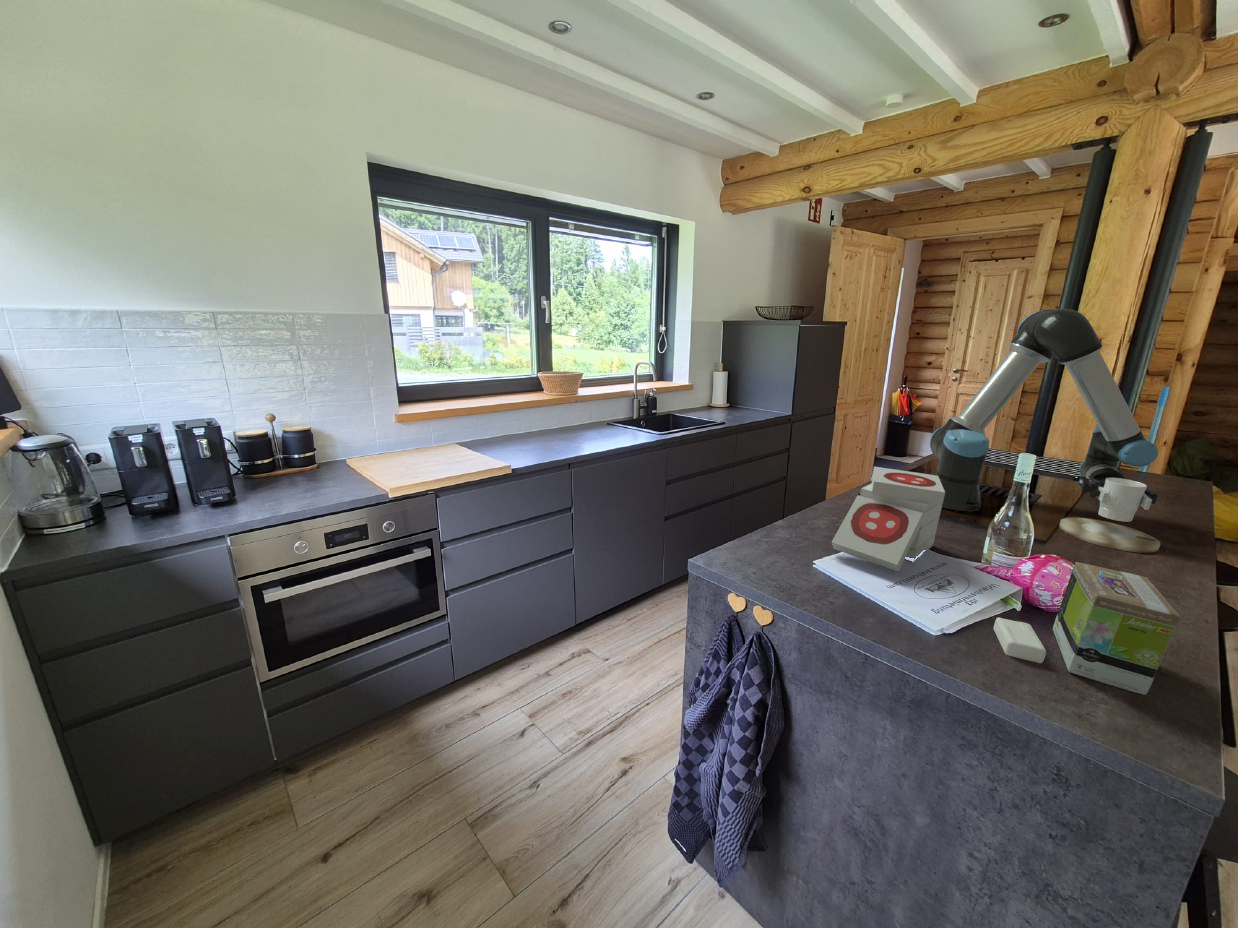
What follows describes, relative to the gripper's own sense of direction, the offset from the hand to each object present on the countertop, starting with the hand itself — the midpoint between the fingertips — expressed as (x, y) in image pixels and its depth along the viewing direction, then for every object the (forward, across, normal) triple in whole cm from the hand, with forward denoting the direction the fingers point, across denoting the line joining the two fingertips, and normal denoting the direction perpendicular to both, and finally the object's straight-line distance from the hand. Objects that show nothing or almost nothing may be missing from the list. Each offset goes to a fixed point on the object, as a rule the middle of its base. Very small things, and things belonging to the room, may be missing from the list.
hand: (1126, 501), depth 130 cm
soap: (+70, +26, -13) cm, 76 cm away
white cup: (-5, 0, -6) cm, 8 cm away
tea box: (+67, +14, -13) cm, 70 cm away
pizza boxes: (+41, +50, -12) cm, 66 cm away
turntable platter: (-5, 0, -12) cm, 13 cm away
